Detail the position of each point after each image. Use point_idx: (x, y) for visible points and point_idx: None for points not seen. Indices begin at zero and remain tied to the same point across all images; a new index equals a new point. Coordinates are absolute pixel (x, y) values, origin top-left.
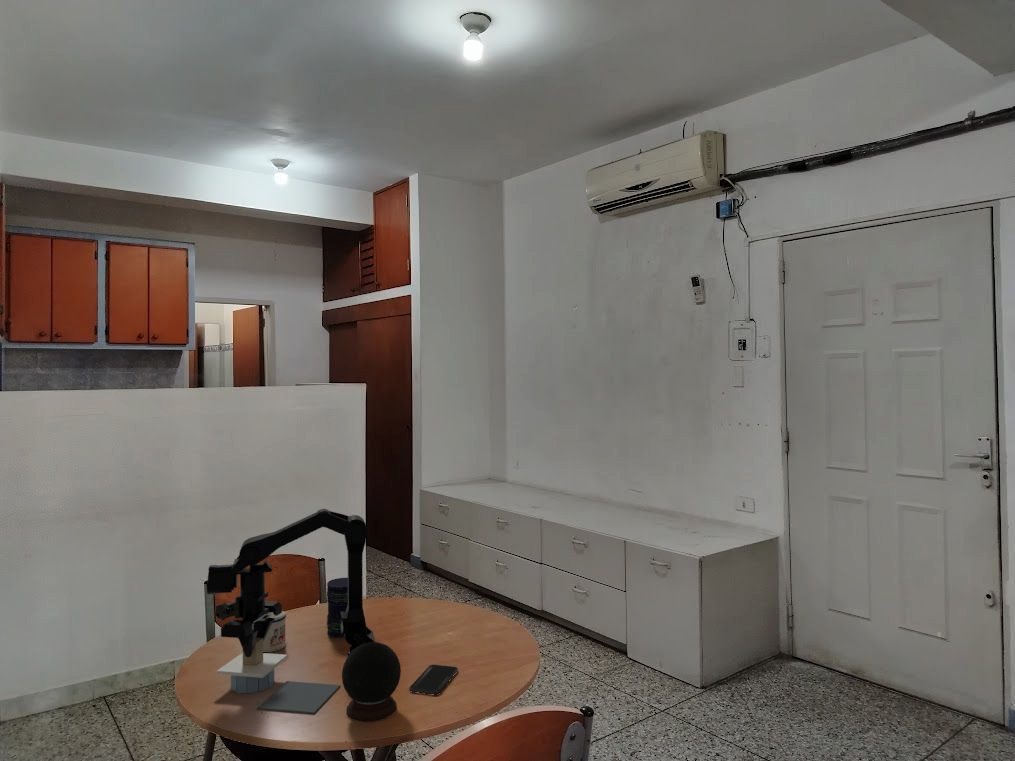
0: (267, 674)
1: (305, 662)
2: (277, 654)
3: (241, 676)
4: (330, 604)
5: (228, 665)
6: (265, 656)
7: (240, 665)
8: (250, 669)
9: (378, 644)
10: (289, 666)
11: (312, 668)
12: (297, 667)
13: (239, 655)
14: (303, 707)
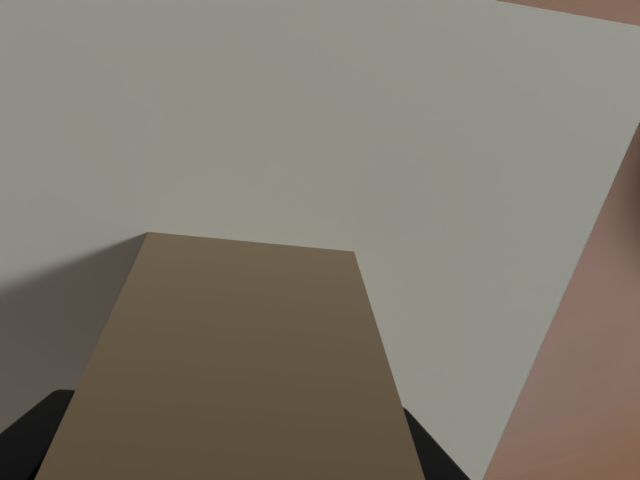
0: None
1: (616, 412)
2: (479, 460)
3: None
4: None
5: (82, 10)
6: (435, 380)
7: (124, 209)
8: (28, 379)
9: None
10: (571, 344)
11: (505, 474)
12: (540, 396)
13: (516, 23)
14: None
